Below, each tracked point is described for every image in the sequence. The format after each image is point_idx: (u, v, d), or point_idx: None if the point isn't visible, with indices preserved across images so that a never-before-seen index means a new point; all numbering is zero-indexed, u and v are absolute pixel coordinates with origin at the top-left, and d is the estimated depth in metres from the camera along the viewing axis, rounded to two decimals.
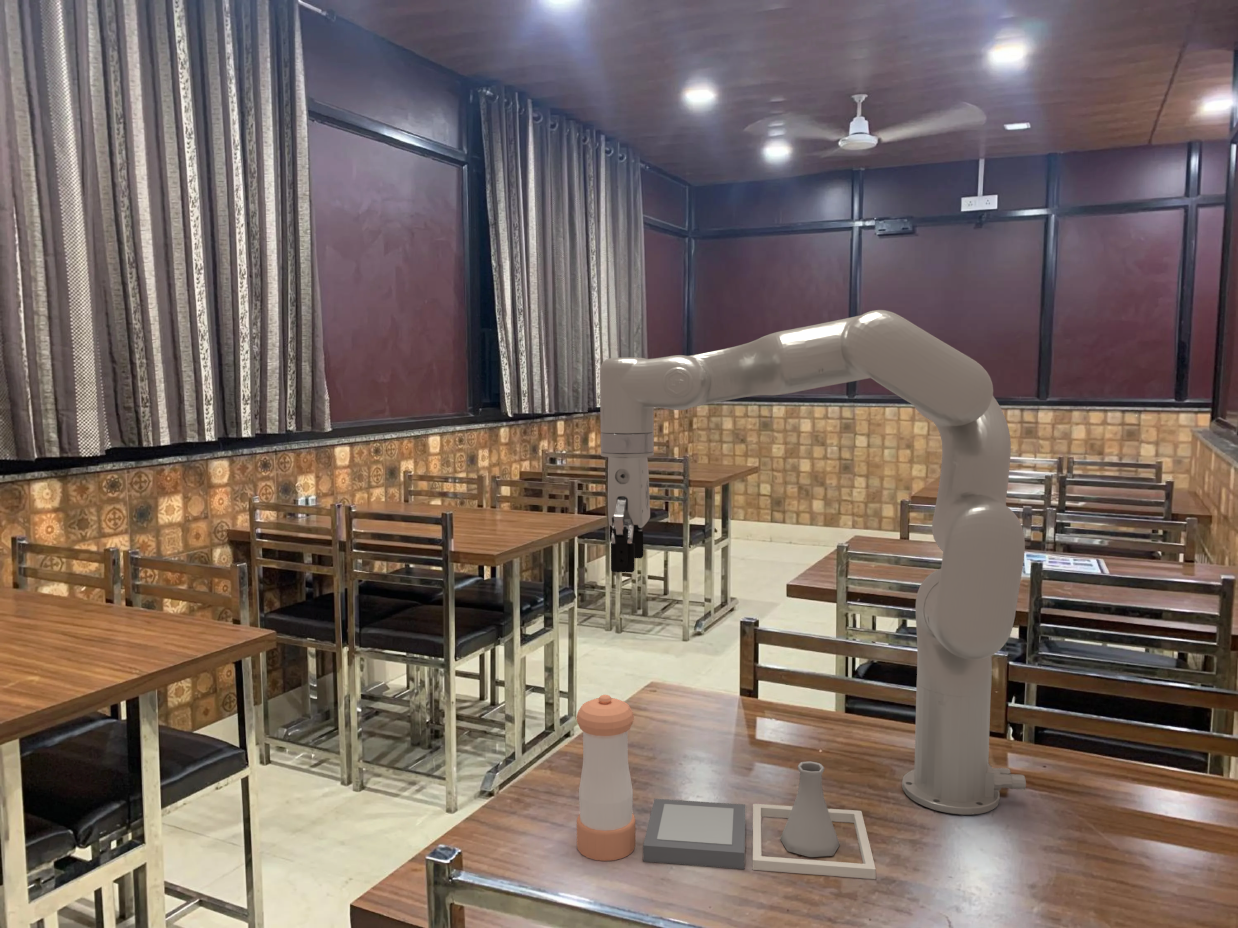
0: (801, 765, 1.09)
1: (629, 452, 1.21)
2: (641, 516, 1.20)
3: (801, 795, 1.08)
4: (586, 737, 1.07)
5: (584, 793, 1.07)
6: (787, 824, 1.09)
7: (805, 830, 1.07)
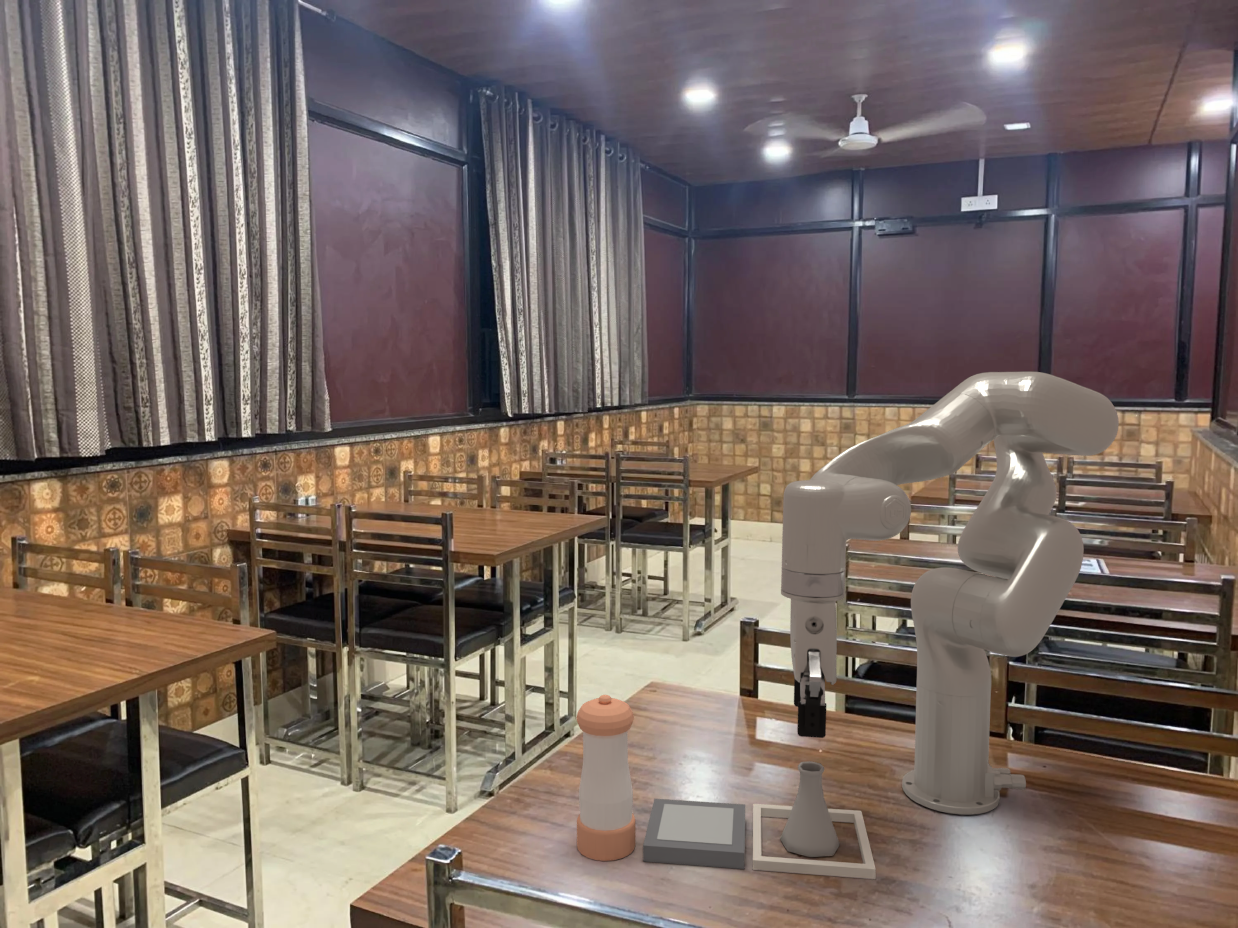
0: (801, 765, 1.09)
1: (822, 596, 1.03)
2: (835, 672, 1.02)
3: (802, 795, 1.08)
4: (586, 737, 1.07)
5: (584, 793, 1.07)
6: (787, 824, 1.09)
7: (805, 830, 1.07)
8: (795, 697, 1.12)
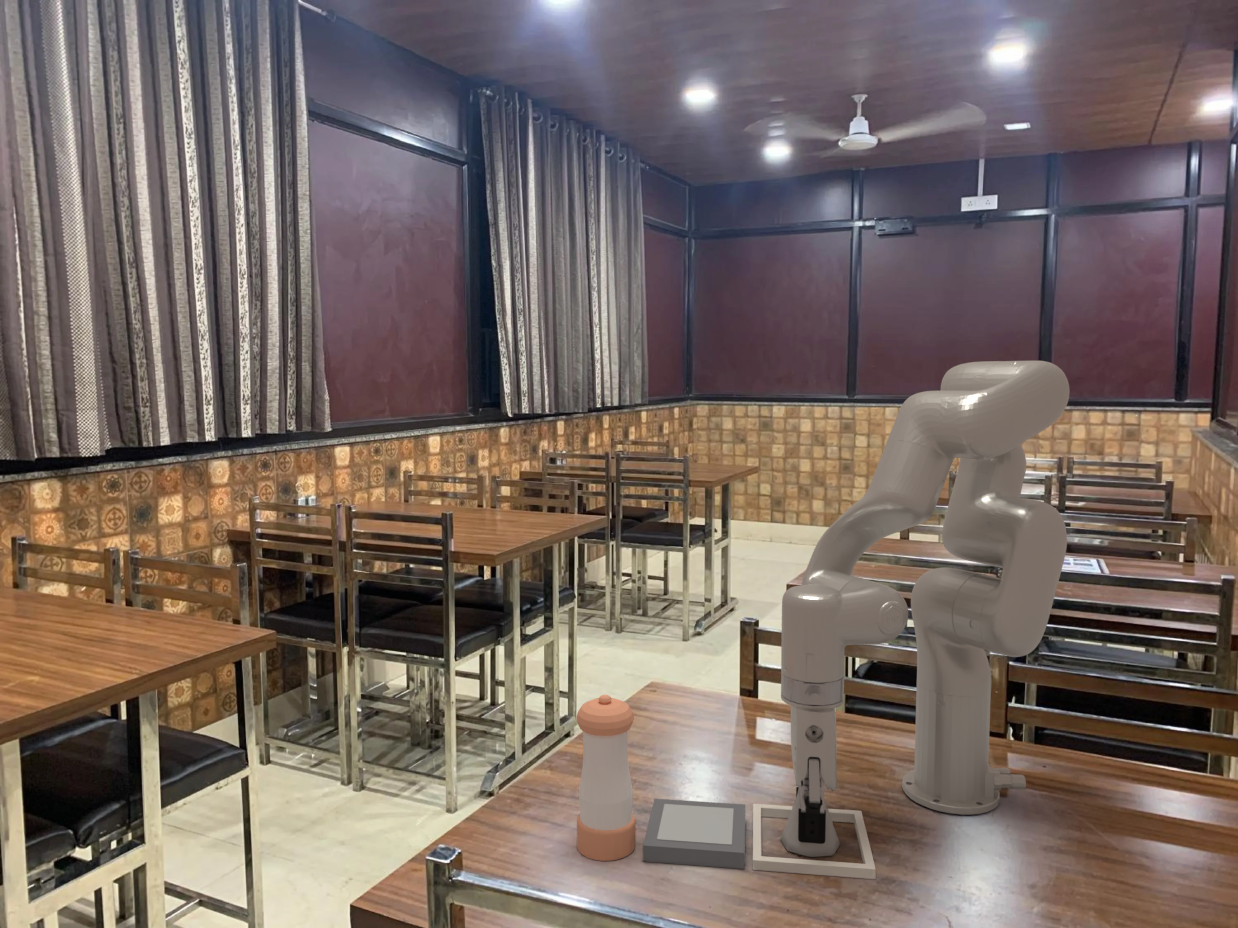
0: None
1: (821, 704, 1.04)
2: (836, 779, 1.04)
3: None
4: (586, 737, 1.07)
5: (584, 793, 1.07)
6: (787, 824, 1.09)
7: None
8: None
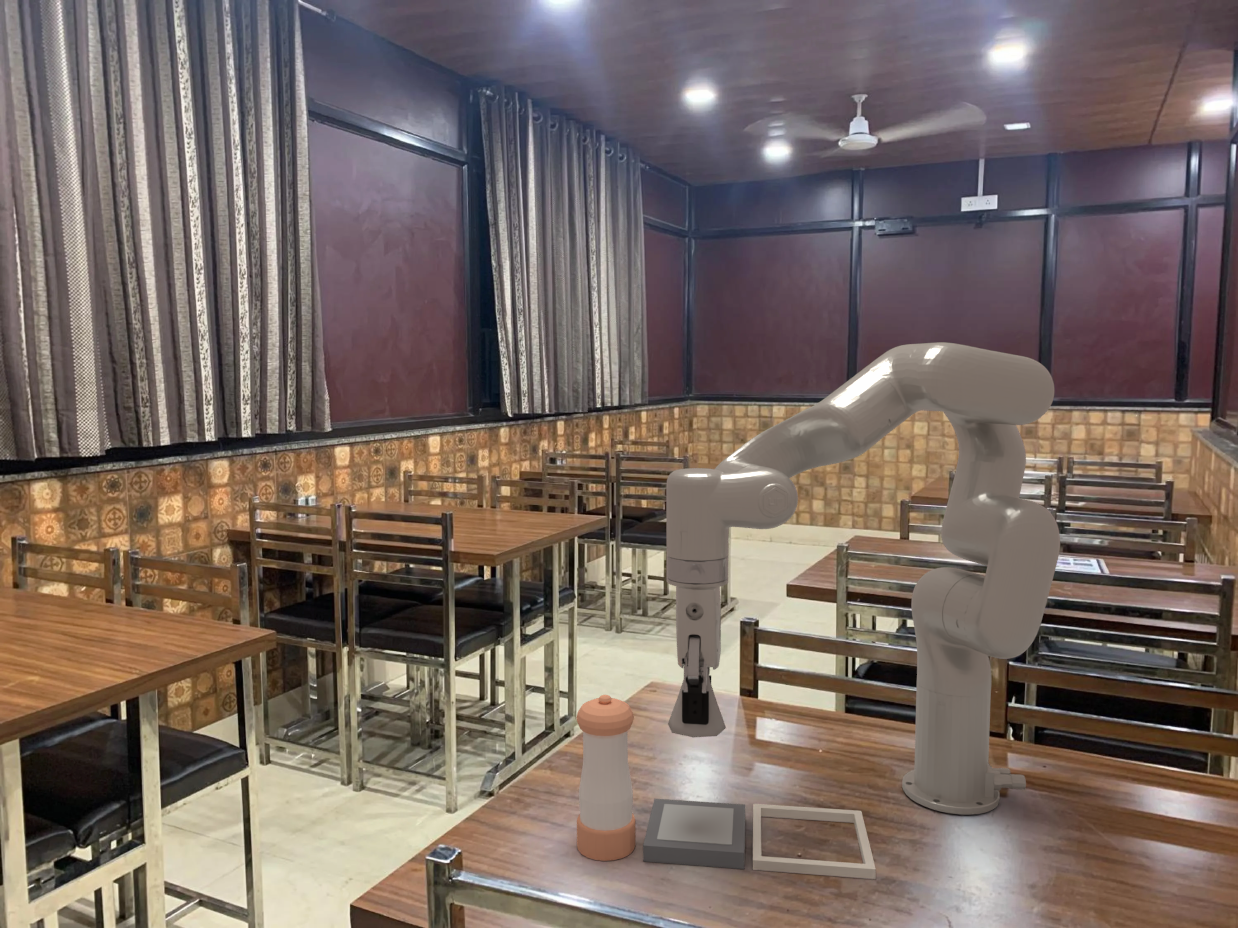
0: None
1: (702, 582, 1.04)
2: (716, 657, 1.03)
3: None
4: (586, 737, 1.07)
5: (584, 793, 1.07)
6: (674, 708, 1.09)
7: None
8: None
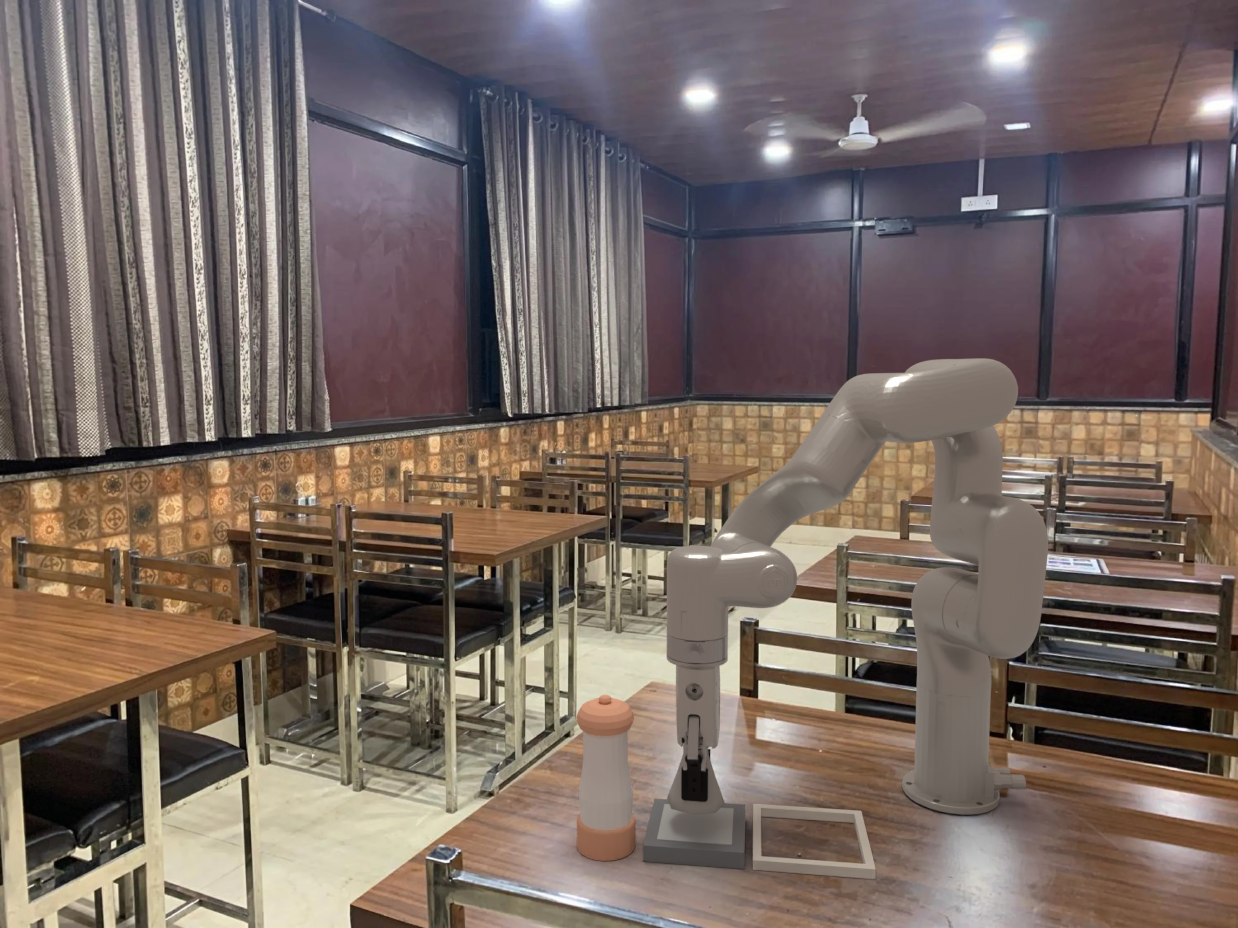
0: None
1: (702, 662, 1.05)
2: (715, 737, 1.04)
3: None
4: (586, 737, 1.07)
5: (584, 793, 1.07)
6: (673, 783, 1.10)
7: None
8: None
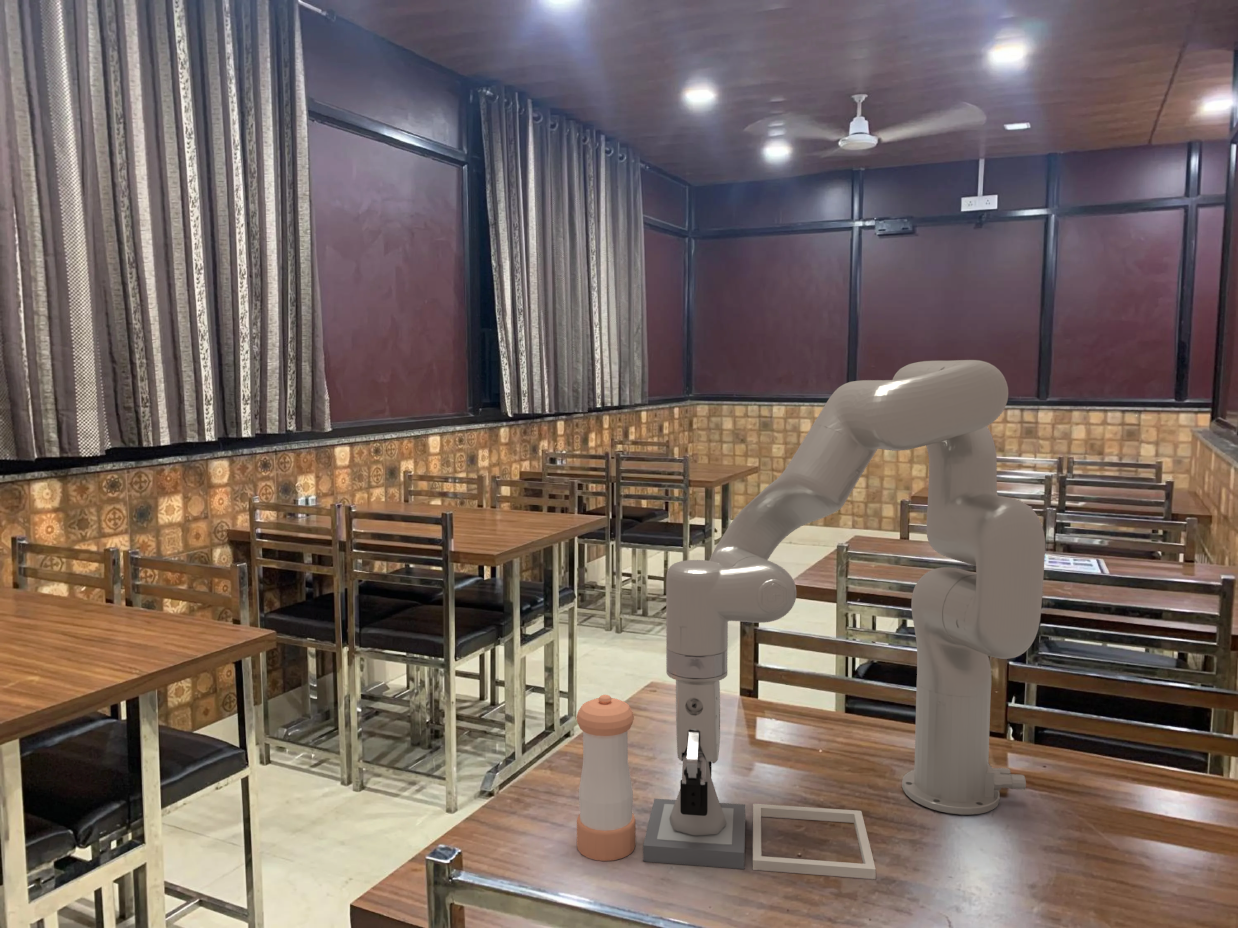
0: None
1: (701, 677, 1.05)
2: (716, 751, 1.04)
3: None
4: (586, 737, 1.07)
5: (584, 793, 1.07)
6: (675, 803, 1.10)
7: None
8: None
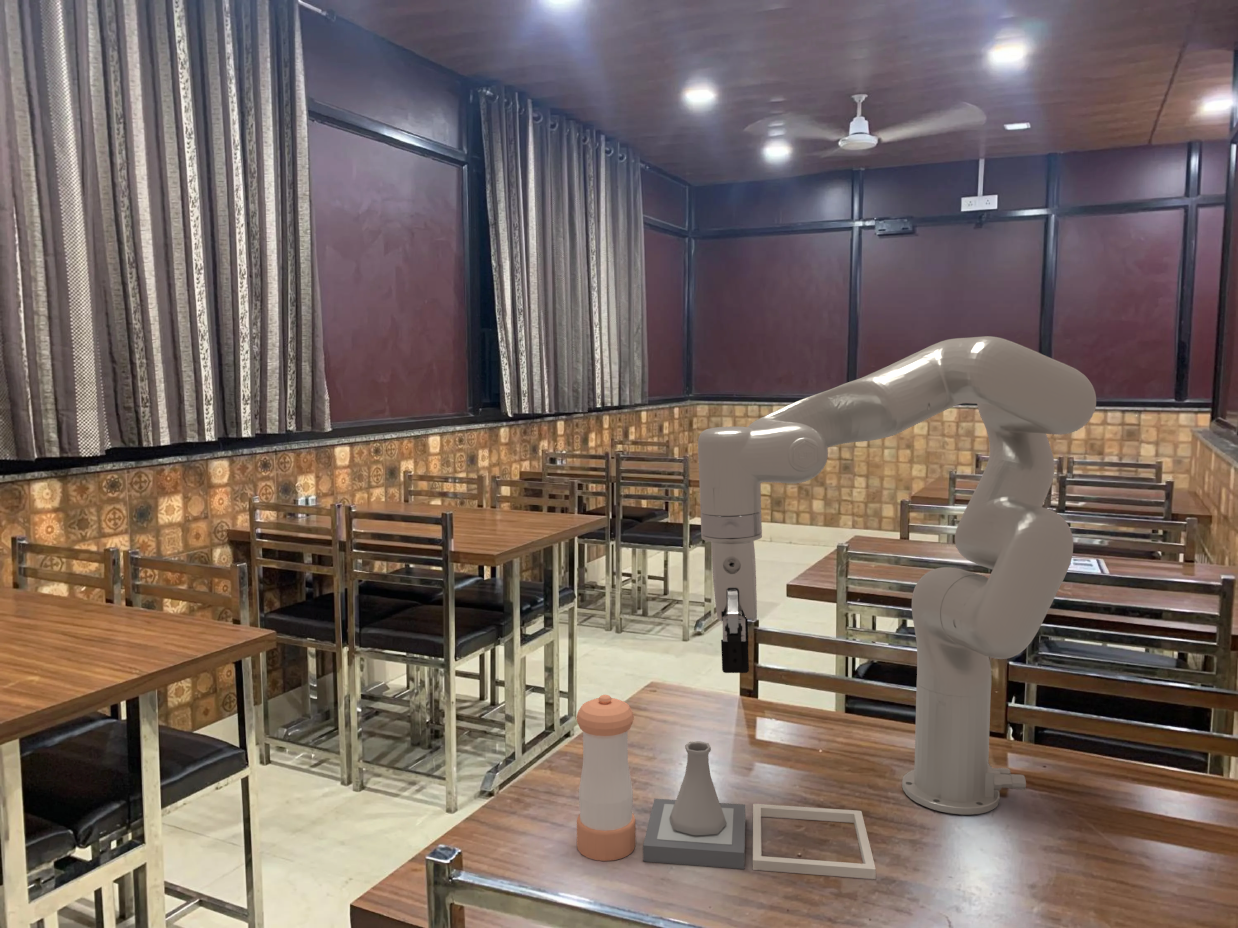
0: (689, 745, 1.10)
1: (738, 536, 1.06)
2: (755, 609, 1.06)
3: (688, 774, 1.09)
4: (586, 737, 1.07)
5: (584, 793, 1.07)
6: (675, 803, 1.10)
7: (691, 809, 1.08)
8: None
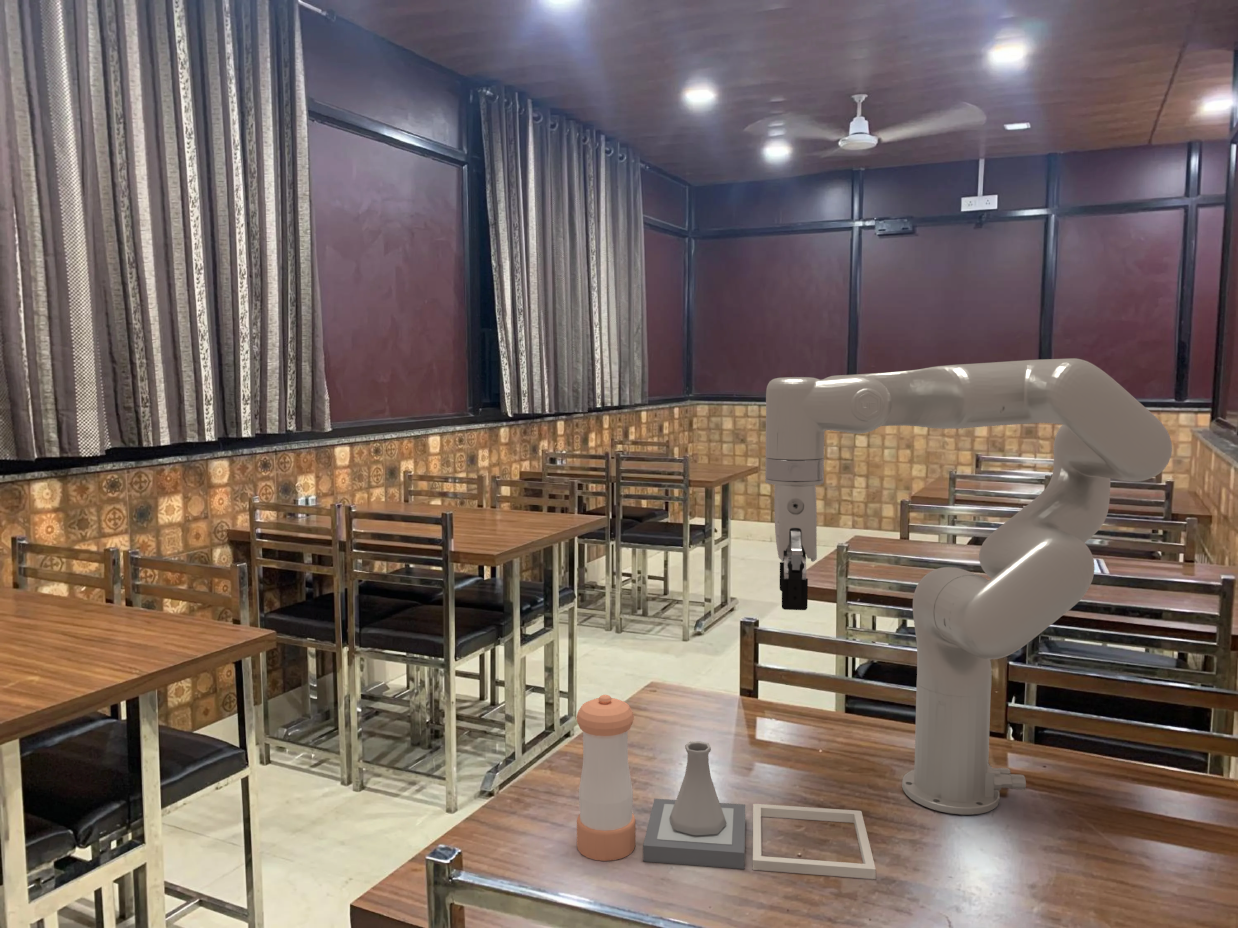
0: (689, 745, 1.10)
1: (802, 480, 1.12)
2: (815, 549, 1.11)
3: (688, 774, 1.09)
4: (586, 737, 1.07)
5: (584, 793, 1.07)
6: (675, 803, 1.10)
7: (691, 809, 1.08)
8: (780, 583, 1.22)
